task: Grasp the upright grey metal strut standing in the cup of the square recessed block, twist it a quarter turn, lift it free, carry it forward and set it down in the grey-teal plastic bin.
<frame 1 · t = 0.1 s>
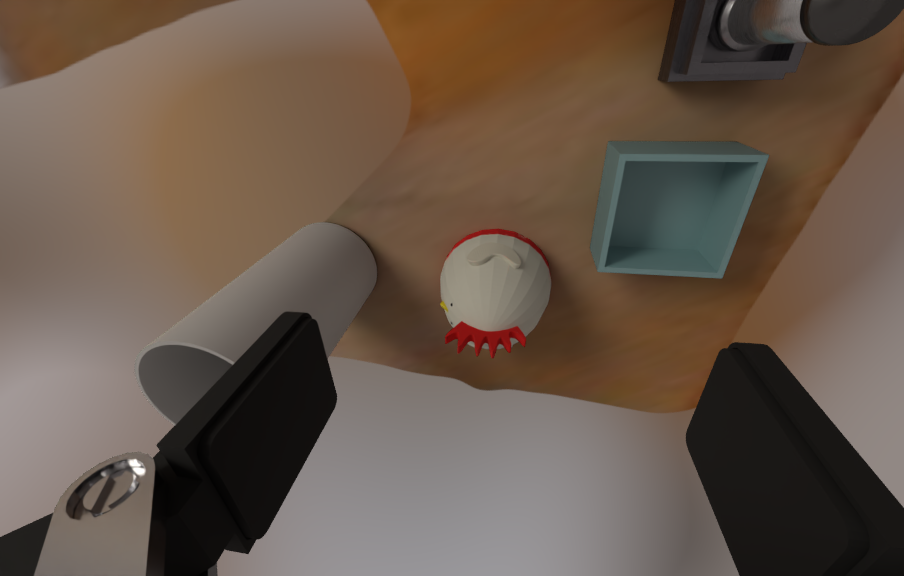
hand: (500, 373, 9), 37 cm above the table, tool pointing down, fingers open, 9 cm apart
cylinder vase: (335, 262, 53), on the table
square recessed block: (726, 19, 33), on the table
bin: (656, 199, 42), on the table
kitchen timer: (495, 277, 50), on the table
strut: (743, 16, 31), point 3 cm above the table, touching square recessed block
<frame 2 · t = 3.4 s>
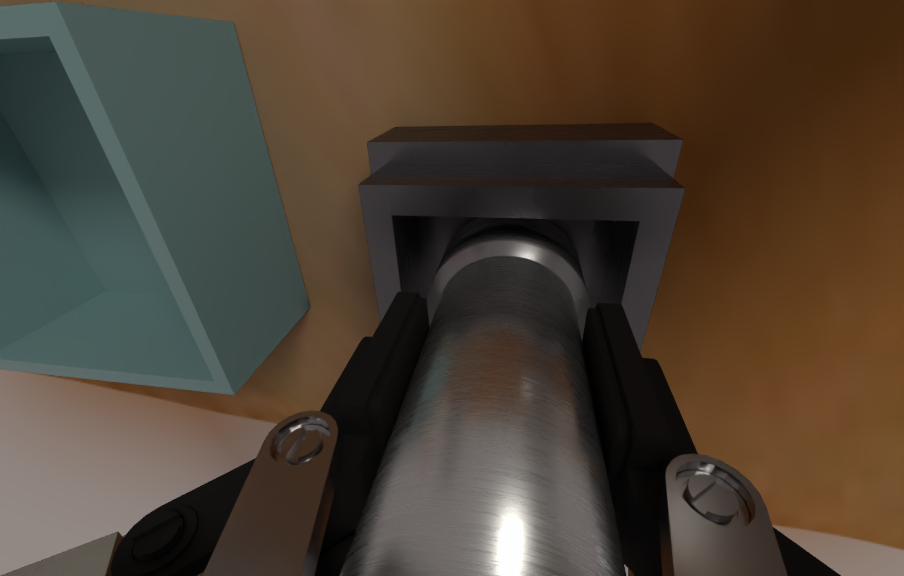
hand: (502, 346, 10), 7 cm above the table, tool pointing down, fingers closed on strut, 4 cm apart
square recessed block: (511, 241, 16), on the table
bin: (158, 189, 18), on the table
strut: (508, 277, 13), point 3 cm above the table, touching gripper, square recessed block
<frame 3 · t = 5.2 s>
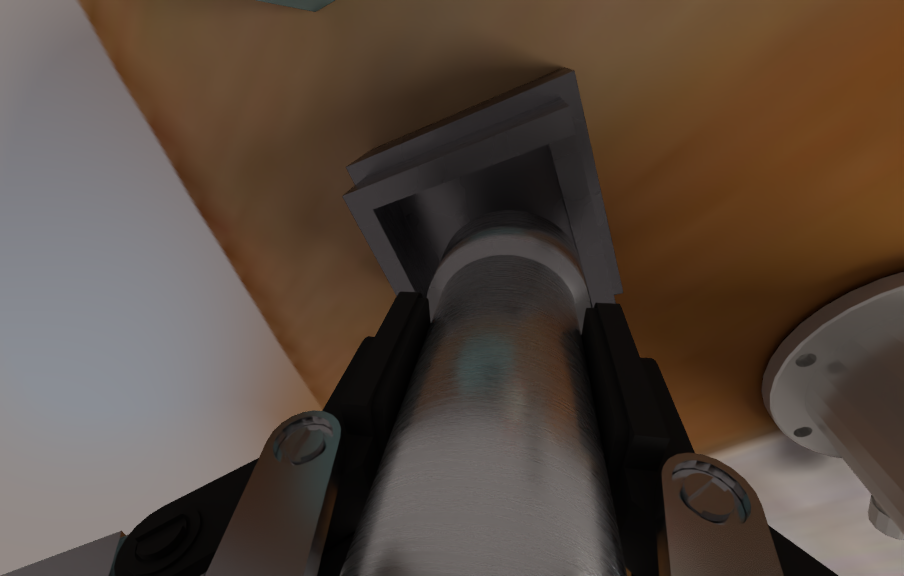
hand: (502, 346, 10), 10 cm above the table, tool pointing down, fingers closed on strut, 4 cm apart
square recessed block: (493, 207, 19), on the table
strut: (508, 276, 13), point 6 cm above the table, touching gripper
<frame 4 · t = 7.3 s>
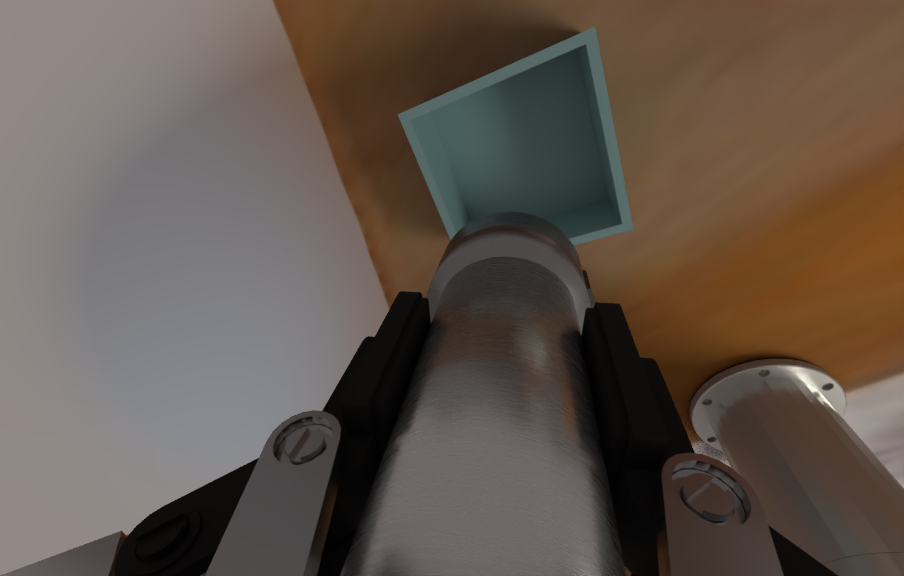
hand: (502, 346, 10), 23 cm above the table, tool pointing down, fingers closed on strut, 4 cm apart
bin: (520, 153, 30), on the table
strut: (508, 277, 13), point 20 cm above the table, touching gripper
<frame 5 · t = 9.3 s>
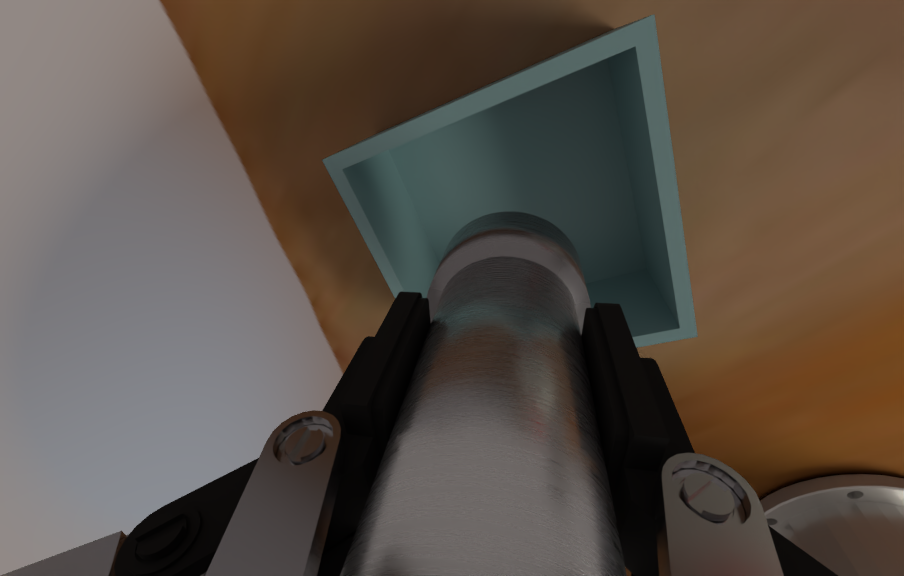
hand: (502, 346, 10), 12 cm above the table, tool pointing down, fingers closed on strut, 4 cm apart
bin: (519, 204, 21), on the table
strut: (508, 277, 13), point 9 cm above the table, touching gripper
when the fingers open (6 cm above the table, at t = 10.8 s): strut drops 2 cm, resting on bin.
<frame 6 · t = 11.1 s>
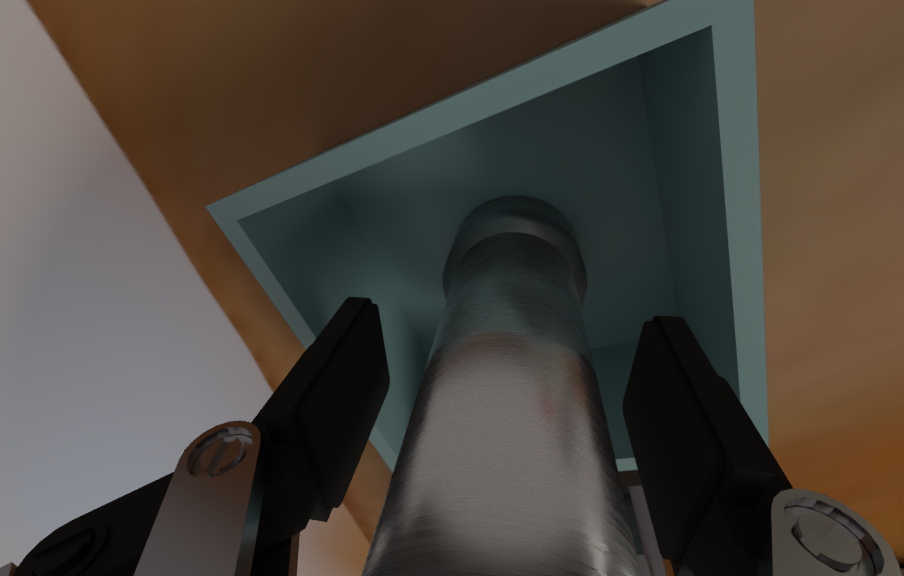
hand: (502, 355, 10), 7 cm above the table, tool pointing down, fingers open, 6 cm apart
square recessed block: (561, 489, 23), on the table
bin: (511, 247, 16), on the table
strut: (513, 255, 15), point 1 cm above the table, touching bin
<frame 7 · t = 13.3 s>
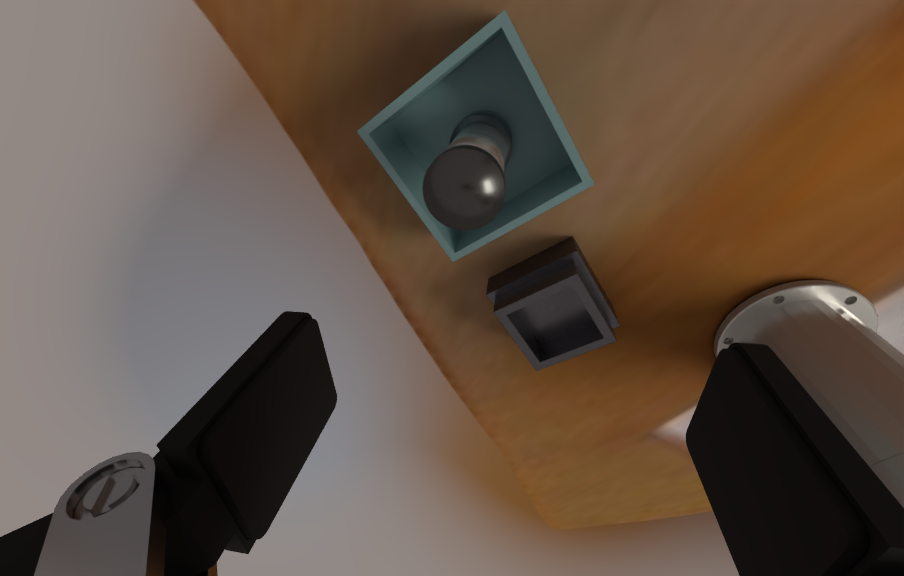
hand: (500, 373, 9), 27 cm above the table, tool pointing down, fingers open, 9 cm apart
square recessed block: (550, 293, 38), on the table
bin: (481, 140, 32), on the table
strut: (482, 142, 31), point 1 cm above the table, touching bin
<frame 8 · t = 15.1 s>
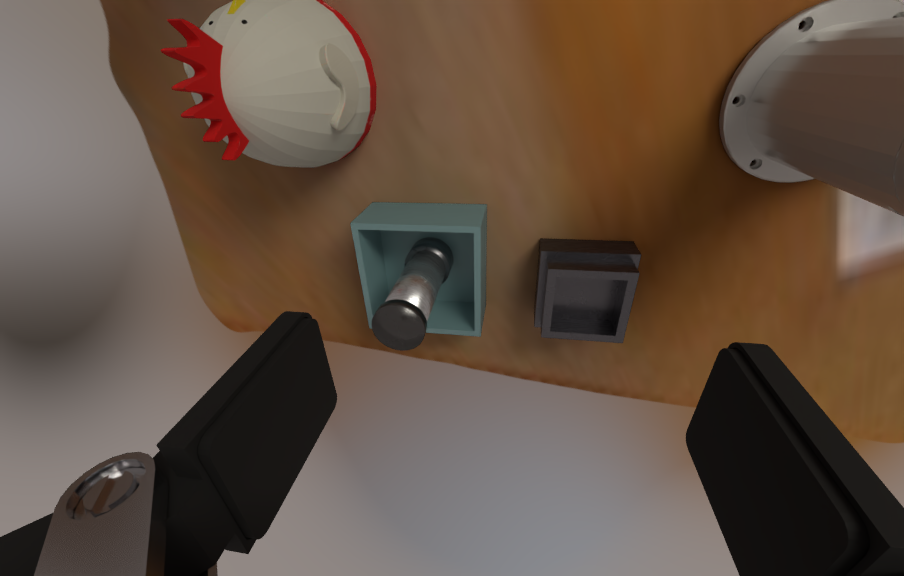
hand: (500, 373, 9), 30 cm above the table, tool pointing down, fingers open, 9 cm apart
square recessed block: (580, 278, 41), on the table
bin: (432, 255, 43), on the table
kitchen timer: (305, 85, 36), on the table
strut: (431, 257, 42), point 1 cm above the table, touching bin
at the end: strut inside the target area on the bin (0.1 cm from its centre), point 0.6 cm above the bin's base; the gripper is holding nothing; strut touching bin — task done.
